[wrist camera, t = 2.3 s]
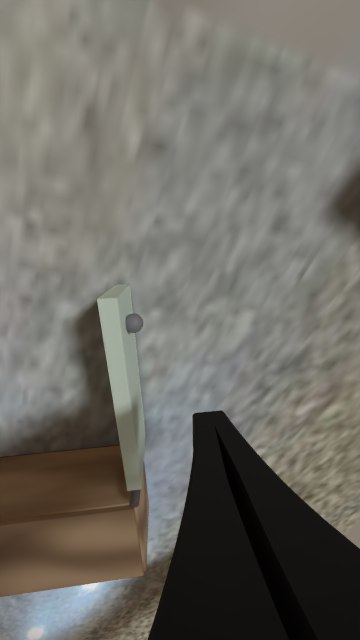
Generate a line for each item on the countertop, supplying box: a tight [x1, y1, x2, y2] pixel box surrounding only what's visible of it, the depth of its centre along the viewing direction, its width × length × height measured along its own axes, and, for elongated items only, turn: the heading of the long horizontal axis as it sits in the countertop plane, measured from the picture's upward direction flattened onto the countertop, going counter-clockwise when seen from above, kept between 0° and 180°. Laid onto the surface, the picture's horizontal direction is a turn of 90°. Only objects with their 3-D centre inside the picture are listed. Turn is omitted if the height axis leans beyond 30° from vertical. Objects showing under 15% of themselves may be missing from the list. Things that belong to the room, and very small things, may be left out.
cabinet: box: [0, 445, 149, 597], centre depth 18 cm, size 10×15×6 cm, turn 92°
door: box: [97, 284, 146, 491], centre depth 15 cm, size 14×2×5 cm, turn 2°
